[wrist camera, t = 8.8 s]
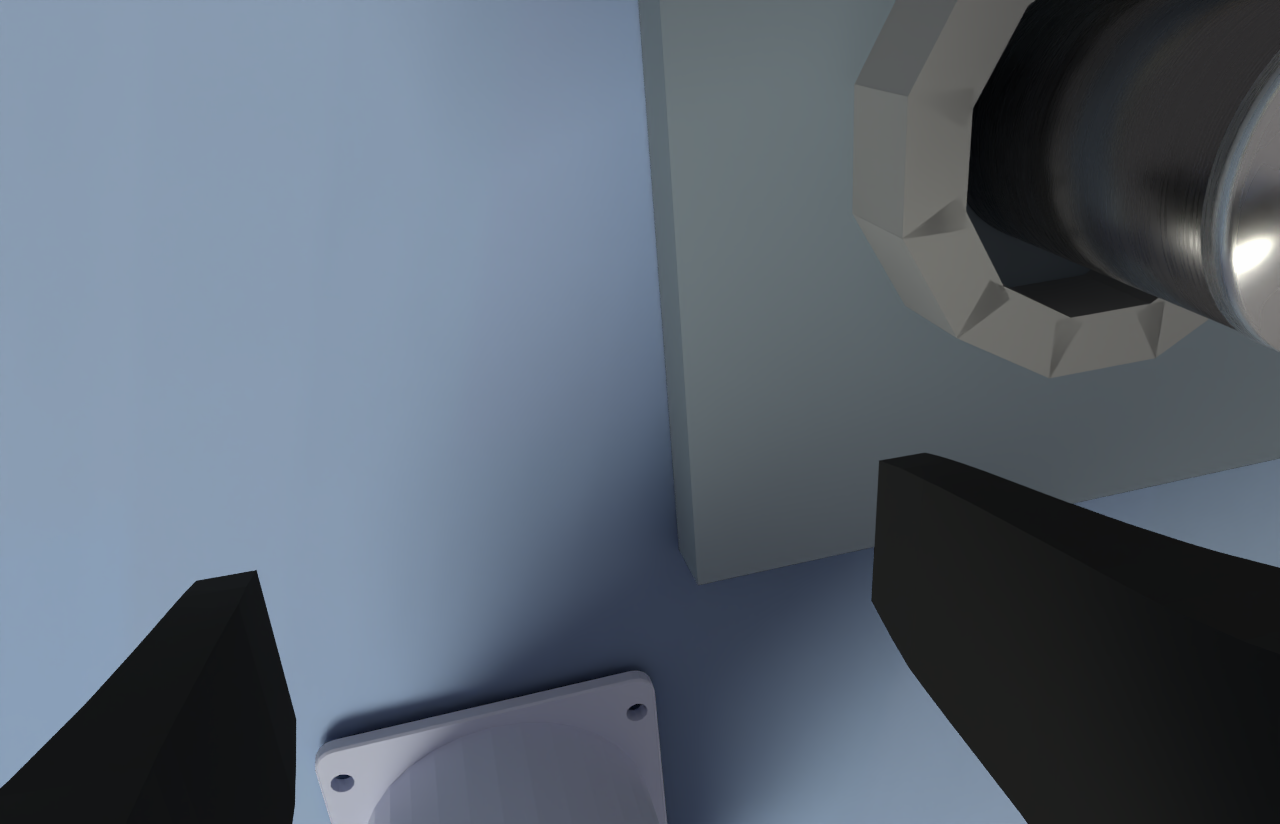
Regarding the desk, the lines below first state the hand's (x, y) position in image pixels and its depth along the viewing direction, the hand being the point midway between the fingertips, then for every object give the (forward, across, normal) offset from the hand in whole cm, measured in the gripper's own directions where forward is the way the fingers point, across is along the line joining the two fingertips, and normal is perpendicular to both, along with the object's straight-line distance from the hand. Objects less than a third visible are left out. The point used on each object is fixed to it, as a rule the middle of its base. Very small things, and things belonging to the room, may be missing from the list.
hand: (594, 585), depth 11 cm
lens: (+8, -11, -3) cm, 14 cm away
